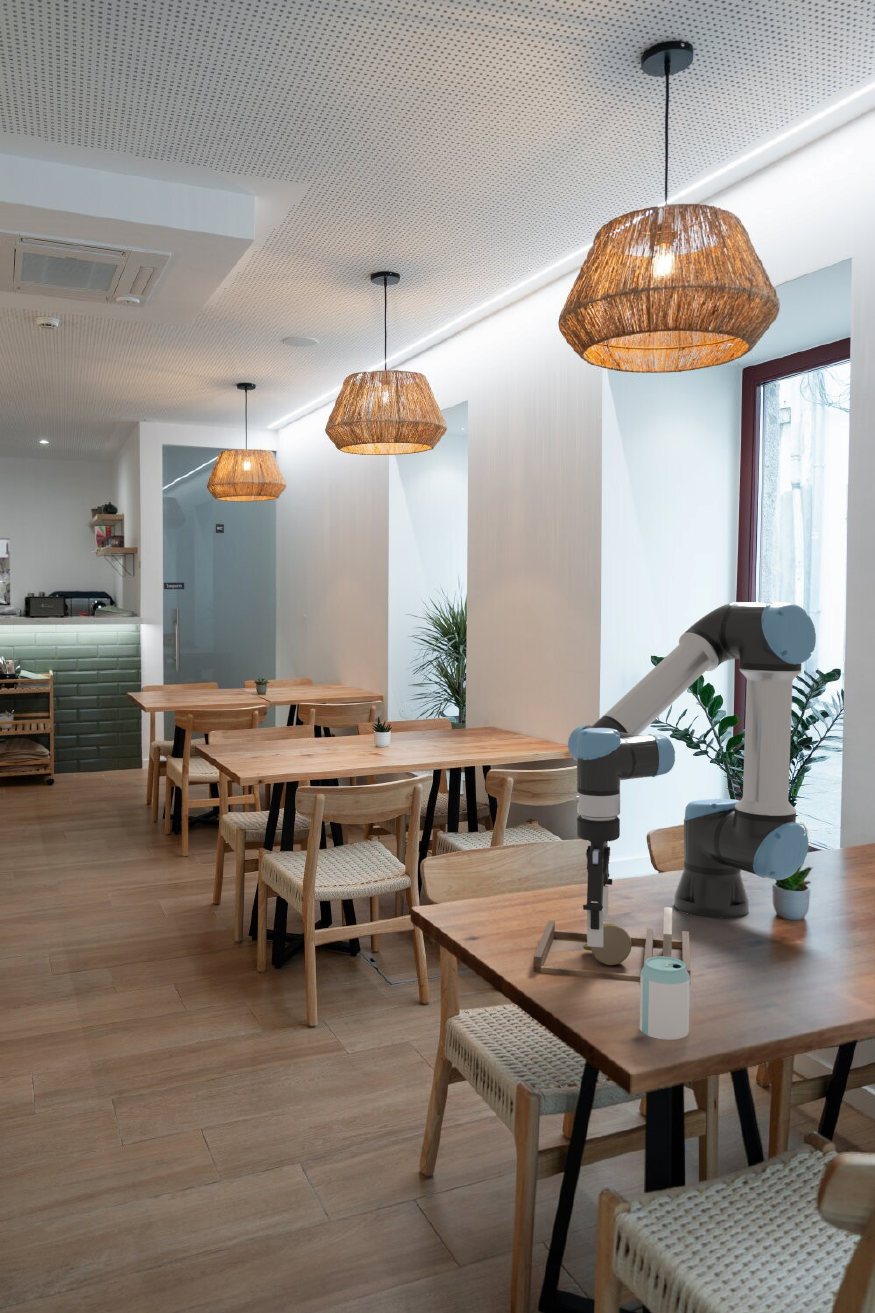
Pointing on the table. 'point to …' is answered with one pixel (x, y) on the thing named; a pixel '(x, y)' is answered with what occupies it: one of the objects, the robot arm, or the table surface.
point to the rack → (576, 940)
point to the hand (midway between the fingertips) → (598, 933)
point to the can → (664, 998)
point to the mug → (612, 945)
